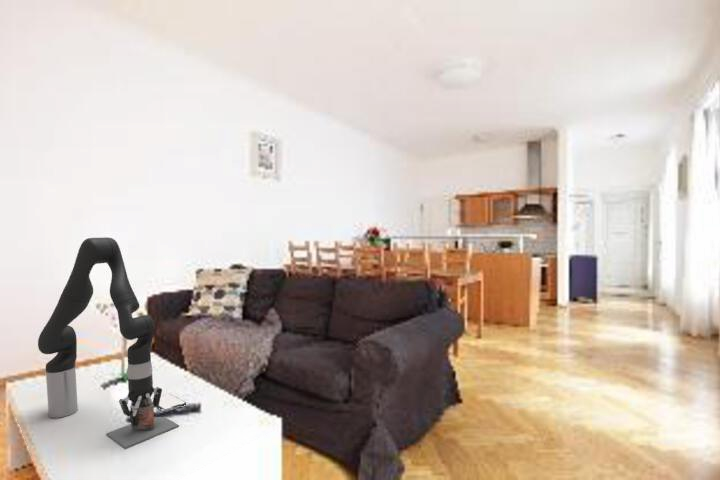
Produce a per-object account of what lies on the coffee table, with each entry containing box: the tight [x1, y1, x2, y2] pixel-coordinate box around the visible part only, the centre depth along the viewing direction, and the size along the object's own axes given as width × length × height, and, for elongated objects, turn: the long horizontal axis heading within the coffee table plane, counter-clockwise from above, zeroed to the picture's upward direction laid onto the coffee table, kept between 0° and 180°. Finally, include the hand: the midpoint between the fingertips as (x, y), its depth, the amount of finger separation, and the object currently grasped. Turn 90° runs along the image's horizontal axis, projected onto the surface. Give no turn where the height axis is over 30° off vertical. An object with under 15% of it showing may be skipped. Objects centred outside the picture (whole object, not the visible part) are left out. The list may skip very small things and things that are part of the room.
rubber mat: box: [105, 416, 180, 450], centre depth 147 cm, size 15×18×1 cm
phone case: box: [151, 393, 187, 409], centre depth 169 cm, size 9×2×16 cm
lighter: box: [129, 398, 155, 429], centre depth 147 cm, size 8×3×10 cm, turn 85°
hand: (142, 422), depth 147 cm, fingers closed on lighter, 4 cm apart
